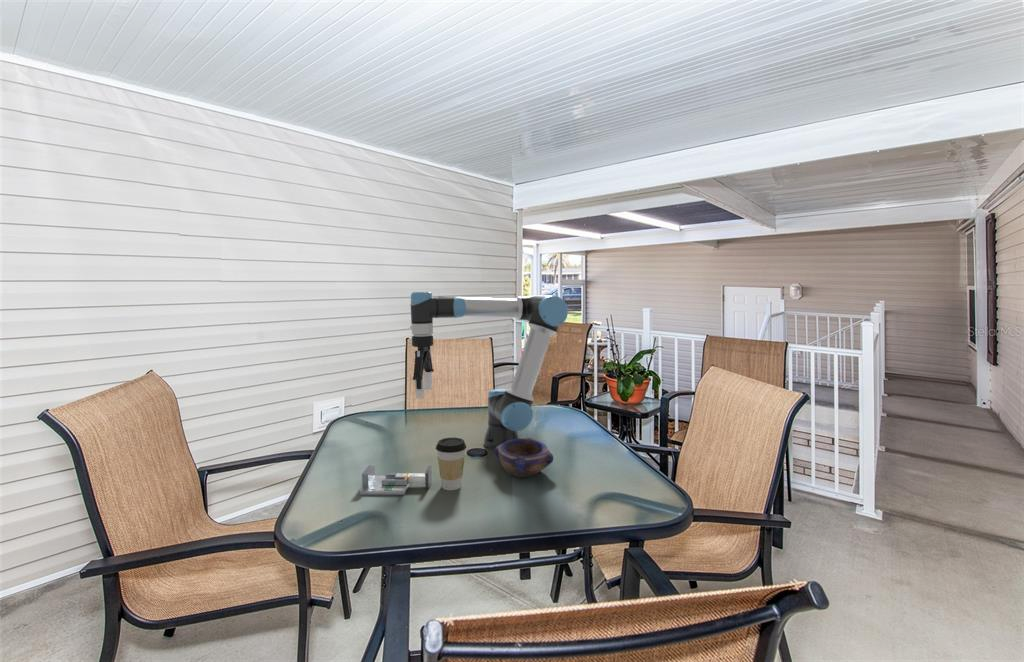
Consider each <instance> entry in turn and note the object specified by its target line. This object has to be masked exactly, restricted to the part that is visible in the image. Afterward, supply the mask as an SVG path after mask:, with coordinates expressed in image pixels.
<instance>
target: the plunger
mask: <svg viewBox="0 0 1024 662" xmlns="http://www.w3.org/2000/svg"><path fill="white" fill-rule="evenodd" d="M432 471H433V470H432V465H428V466H427V467H426V471H425V472H424V473H423V472H420V473H418V472H416V473H415V472H413V473H412V472H411V473H409V472H405V473H404V472H403V473H401V472H398V473H395V474H396V476H395V479H404V481H406V480H407V484H410V485H411V484H412V485H413V484H414V485H415V484H416V485H417V484H421V485H424V484H425V489H429V488H430V486H431V483H432V478H433V477H432V476H433V475H432Z"/></svg>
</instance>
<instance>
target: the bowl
mask: <svg viewBox="0 0 1024 662" xmlns="http://www.w3.org/2000/svg"><path fill="white" fill-rule="evenodd" d="M494 454H495V456H496V458H497V459H498V461H500V463H501V464H500V465H501V466H502V467H503V468H504V470H505V471H506V472H507V473H509V474H510V475H512V476H513V477H518V478H524V477H525V478H526V477H532V476H535V475H537V474H538V473H541V471H543V470H544V469H545V468H547V467H548V466H549V465H551V464H552V463H554V462H553V461H554V455H553V453H552V452H551V451H550V449H549V447H548V446H547V444H546V443H544V442H542V441H540V440H538V439H534V438H530V437H528V438H526V437H523V438H522V437H520V439H512V440H508V441H506V442H504V443H502V444H501V445H499V446H497V447H496V448H495V449H494Z"/></svg>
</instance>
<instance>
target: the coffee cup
mask: <svg viewBox="0 0 1024 662" xmlns="http://www.w3.org/2000/svg"><path fill="white" fill-rule="evenodd" d="M466 449H467V444H466V442H465V440H464V439H463V438H459V437H445V438H442V439H439V440H438V441H437V444H436V445H435V450H436V451H437V461H438V470H439V476H440V477H439V478H440V480H441V482H440V483H441V487H442V490H445V491H457V490H459V489H460V488H461V487H462V481H463V474H464V465H465V458H466V457H465V452H466V451H465V450H466Z"/></svg>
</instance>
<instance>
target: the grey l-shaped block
mask: <svg viewBox="0 0 1024 662" xmlns="http://www.w3.org/2000/svg"><path fill="white" fill-rule="evenodd" d="M375 467H376V466H375V465H368V466H367V467H366V468H365V469H364V471H363V472H362V473H361V484H362V485H361V488H360V489H359V496H362V495H363V496H365V495H371V496H372V495H373V496H374V495H378V496H380V495H382V496H383V495H385V496H386V495H388V496H389V495H394V496H395V495H398V496H399V495H406V493H407V491H408V489H409V487H410V485H411V484H407V480H406V481H404V479H395V476H396V474H397V473H385V475H376V469H375Z"/></svg>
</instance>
